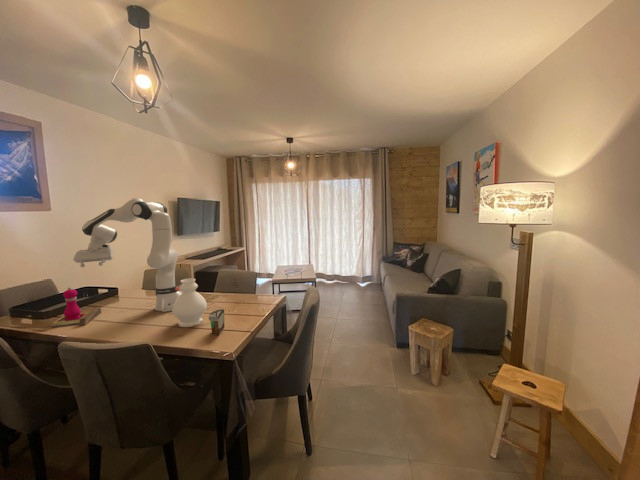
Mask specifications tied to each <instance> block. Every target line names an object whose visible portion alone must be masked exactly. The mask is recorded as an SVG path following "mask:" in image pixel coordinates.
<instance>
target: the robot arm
mask: <svg viewBox="0 0 640 480" xmlns="http://www.w3.org/2000/svg"><path fill="white" fill-rule="evenodd" d="M138 218H139V219H142V220H145V221H148V220H150V222H151V232H152V234H151V235H152V242H151V243H152V244H151V249H150V252H149V255H148V256H147V258H146V264H147V265H148V266H149V267H150V268H152V269H157V271H156V274H155V277H154V278H155V290H154V291H155V296H156V299H155V300H156V302H155V308H154V310H155V311H158V312H163V313H165V312H172V306H173V304H174V302H175V301H176V299H177V298H178V297H179V296H180V295H181V294H182V293H183V292H182V291H180V290H179V287H180V285H176V277H175V275H176V274H175V273H176V267H177V261H178V260H179V253H178V251H177V250H176V249H174V248H171V245H172V242H173V230H172V229H173V228H172V227H173V226H172V221H171V215H169V214H168V208H167V206H166V205H165V204H163V203H161V202H156V201H145V200H143V199H142V198H140V197H133V198H132V199H130V200H128V201H127V202H126V203H124V204H123V205H122V206H120V207H118V208H117V207H116V208H109V209H107V210H106V211H104V212H102V213H101V214H99V215H97V216H96V217H94V218H92V219H90V220H87V221H86V222H85V223H84V224H83V225H82V227H81V230H82V232H83V234H84V235H86V236H90V242H89V243H88V246H87V249H80V250H78V251H76V252H75V255H74V257H73V259H72V260H73V261H74V262H75V263H76V264H80V268H85V267H86V264H85V263H92V262H98V266H103V265H104V263H105V262H106V261H112V260H114V259H113V258H114V250H113V248H112V246H111V245H109V244H110V243H113V242H115V241H116V239H117V237H118V231H117V230H116V229H115V228H113V227H110V226H108V225H105V224H104V223H105V222H107V221H115V222H120V223H128V224H129V223H131V222H134V221H136V220H138Z"/></svg>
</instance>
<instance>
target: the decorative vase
mask: <svg viewBox="0 0 640 480" xmlns="http://www.w3.org/2000/svg"><path fill="white" fill-rule="evenodd" d="M195 281H196V278H193V277H192V278H184V279H181V280H180V283H181V284H180V285H179V291H181V292H183V293H182V294H181V295H180V296H179V297H178V298H177V299H176V301H175V302H174V304H173V306H172V311H171V312H172V315H174V317H175V318H176V319H178V320H179V322H178V326H179V327H181V328H189V327H190V328H191V327H193V326H194V327H195V326H197V325H200V324H202V323H203V317H202V316H203V315H204V313H205V311H206V310H207V307H208V303H207V301H206V298H205V297H203V296H202V295H201V294H200V293H199V292H198V291H196V290H197V289H198V288H199V285H198V284H197V283H196V282H195Z"/></svg>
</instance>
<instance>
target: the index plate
mask: <svg viewBox="0 0 640 480" xmlns="http://www.w3.org/2000/svg"><path fill="white" fill-rule="evenodd" d="M89 312H90V311H88V312H81V313H80V314H79V315H80V318H82V317H83V316H85V315H86V314H87V313H89ZM66 318H67V317H65V316H64V315H63V316H61V317H60V318H57V319H56V320H55V321H53V322H52V323H51V324H52V325H51V328H58V327H64V326H74V325H80V318H79V319H76V320H68V321H66Z"/></svg>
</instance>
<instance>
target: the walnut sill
mask: <svg viewBox="0 0 640 480" xmlns="http://www.w3.org/2000/svg"><path fill="white" fill-rule="evenodd" d="M88 312H89V313H87V312H86V313H87V314H86V315H85V316H83V317H82V318H80V324H79V325H80V326H81V327H82V326H83V327H84V326H86V325H89V323H91V321H93V320H94V319H95V318H97V317H98V316H100V314H102V308H101V306H96V307H94V308H93V309H92V310H90V311H88Z"/></svg>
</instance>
